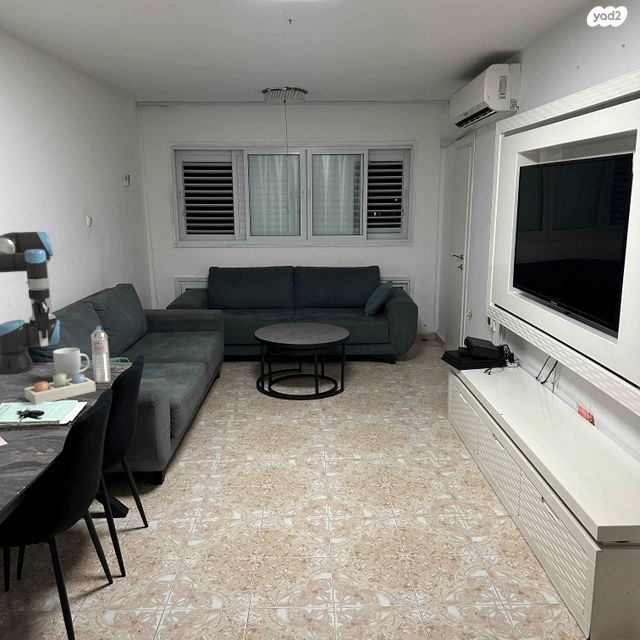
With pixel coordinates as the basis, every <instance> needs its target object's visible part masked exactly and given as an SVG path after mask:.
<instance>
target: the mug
mask: <svg viewBox="0 0 640 640" xmlns="http://www.w3.org/2000/svg"><path fill="white" fill-rule="evenodd" d="M52 354H53V365H54V369H55V372H56V374H59V373H64V374H66V380H67V379H72V375H75V374H81V373H83V372H85V371H86V370H87V369H88V368H89V366H90V359H89V357H88V355H87V354H86V353H81V350H80V348H78V347H64V348H58V349H55V350H54V351H52ZM81 357H84V358H85V359H86V365H85V366H84V367H83V368H81V366H82V365H81V361H82V360H81V359H82V358H81Z"/></svg>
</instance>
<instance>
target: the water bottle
mask: <svg viewBox="0 0 640 640" xmlns="http://www.w3.org/2000/svg"><path fill="white" fill-rule="evenodd" d="M101 328H102V327H101V325H97V326H95V330H94V331H93V332H92V334H91V336H90V340H91V342H90V343H91V354H92V356H91V357H92V368H93V379H94V380H93V381H94V382H95V384H106V383H109V382H111V369H110V368H111V366H110V353H109V344H108V343H109V342H108V337H109V336H108V334H107V332H105V331H104V330H103V329H101Z"/></svg>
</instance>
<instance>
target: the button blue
mask: <svg viewBox="0 0 640 640" xmlns="http://www.w3.org/2000/svg"><path fill="white" fill-rule="evenodd" d="M85 377H86V376H85V374H83V373H79V374H75V375H72V384H78V383H83V382H85Z"/></svg>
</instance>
